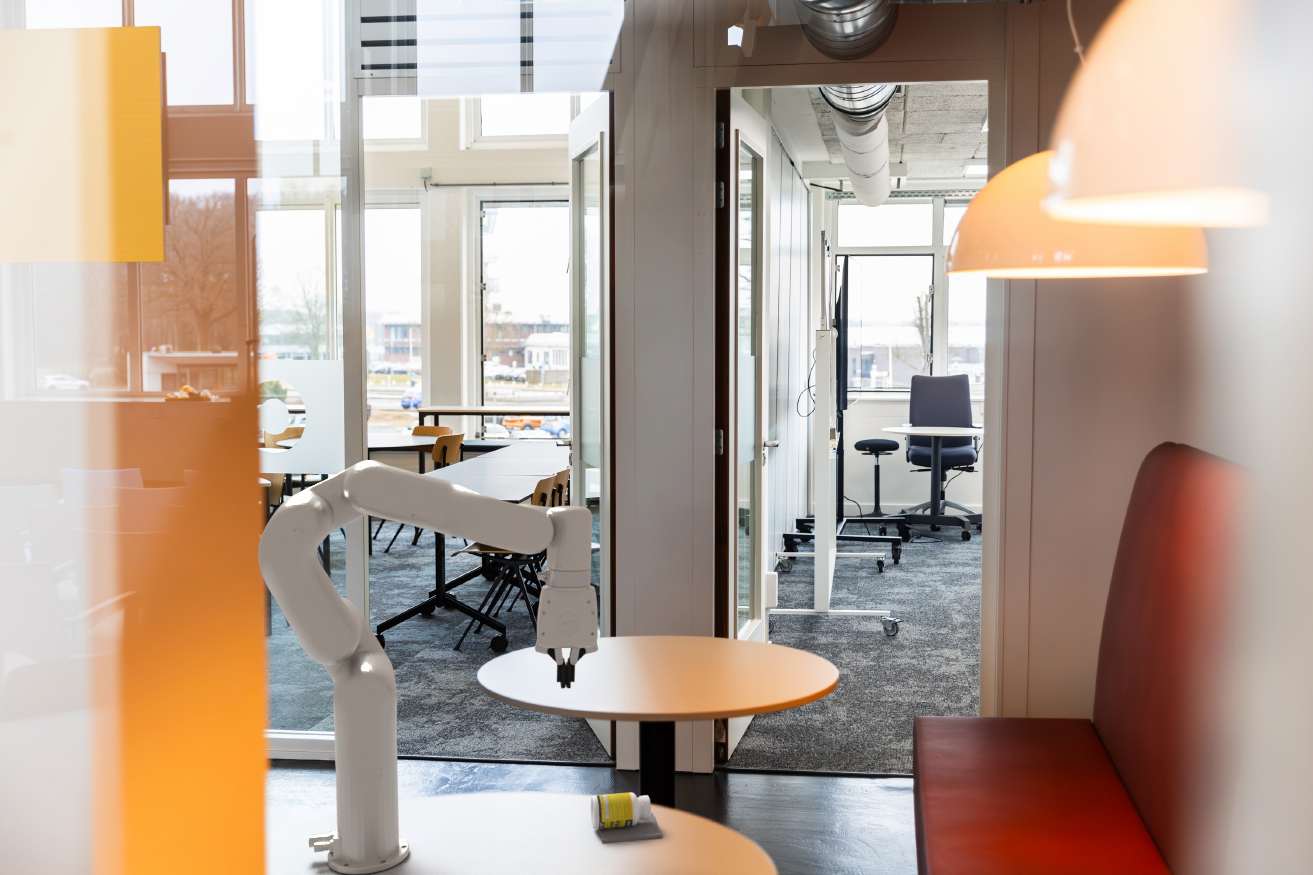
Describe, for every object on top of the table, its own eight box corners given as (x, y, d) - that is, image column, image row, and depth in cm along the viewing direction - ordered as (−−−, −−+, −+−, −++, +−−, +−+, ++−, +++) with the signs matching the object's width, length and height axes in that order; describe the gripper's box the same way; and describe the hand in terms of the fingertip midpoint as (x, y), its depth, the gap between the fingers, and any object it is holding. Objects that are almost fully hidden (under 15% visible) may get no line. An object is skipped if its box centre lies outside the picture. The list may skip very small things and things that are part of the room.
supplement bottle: (595, 828, 159) (653, 822, 161) (592, 793, 162) (649, 788, 164) (591, 831, 164) (648, 825, 166) (589, 797, 166) (644, 792, 168)
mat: (602, 842, 158) (602, 839, 158) (596, 820, 167) (596, 817, 167) (661, 837, 160) (661, 834, 160) (652, 815, 169) (652, 812, 169)
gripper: (524, 582, 158) (521, 692, 159) (614, 582, 161) (611, 691, 161) (523, 575, 166) (520, 681, 166) (609, 575, 168) (606, 680, 168)
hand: (565, 686), depth 163 cm, fingers closed
